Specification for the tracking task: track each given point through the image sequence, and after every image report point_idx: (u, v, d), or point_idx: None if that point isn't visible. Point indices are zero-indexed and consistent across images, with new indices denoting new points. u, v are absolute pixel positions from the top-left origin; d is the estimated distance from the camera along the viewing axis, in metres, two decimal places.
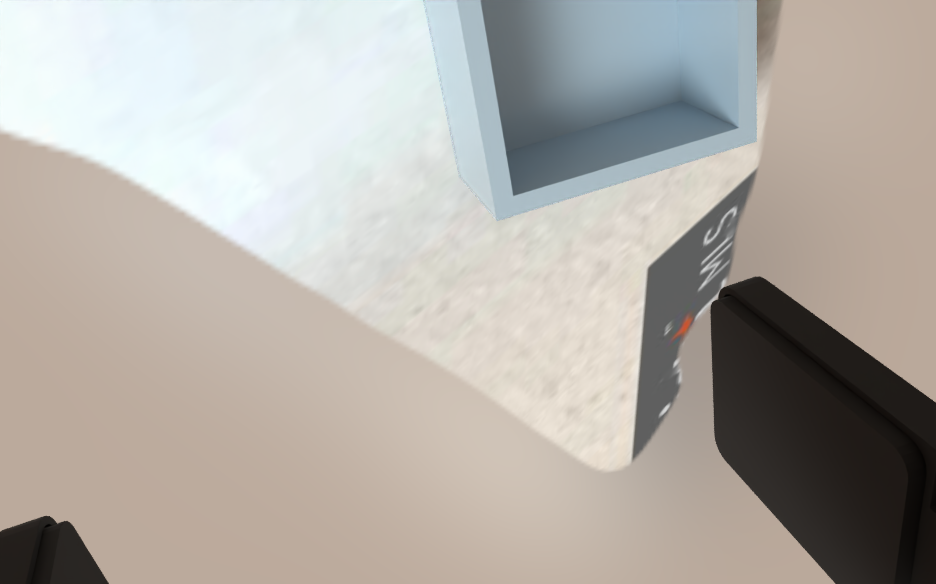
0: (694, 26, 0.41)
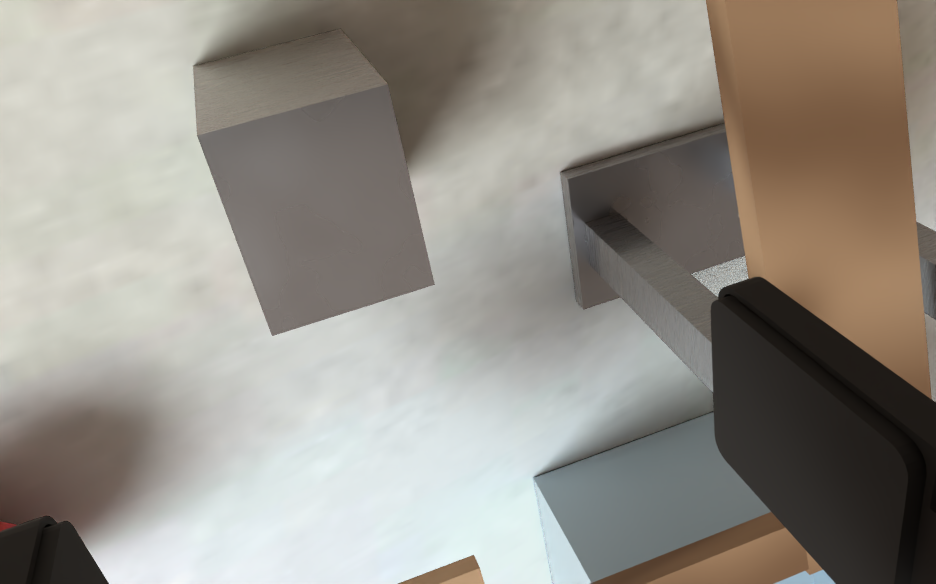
0: None
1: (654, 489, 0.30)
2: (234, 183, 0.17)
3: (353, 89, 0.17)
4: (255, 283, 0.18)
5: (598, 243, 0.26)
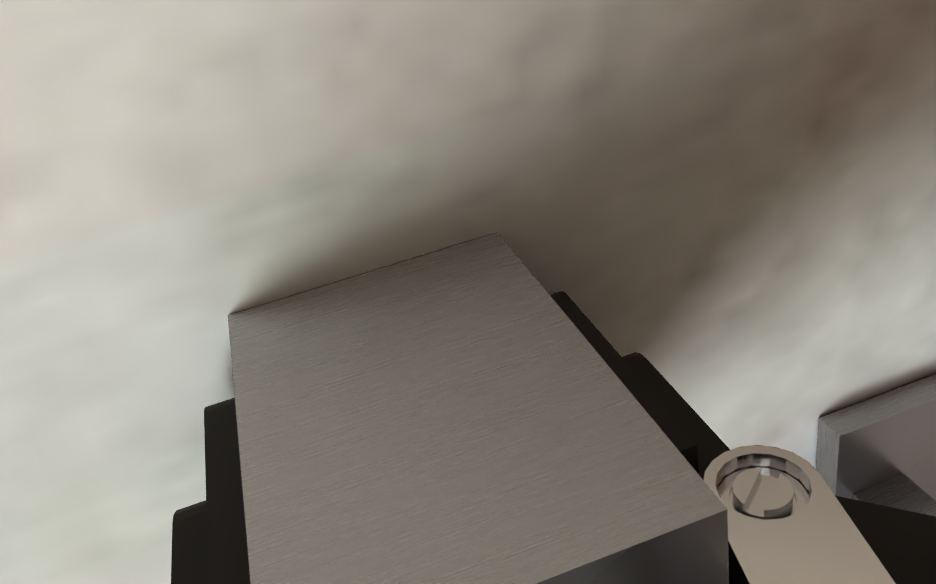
0: None
1: None
2: None
3: (638, 518, 0.07)
4: None
5: None
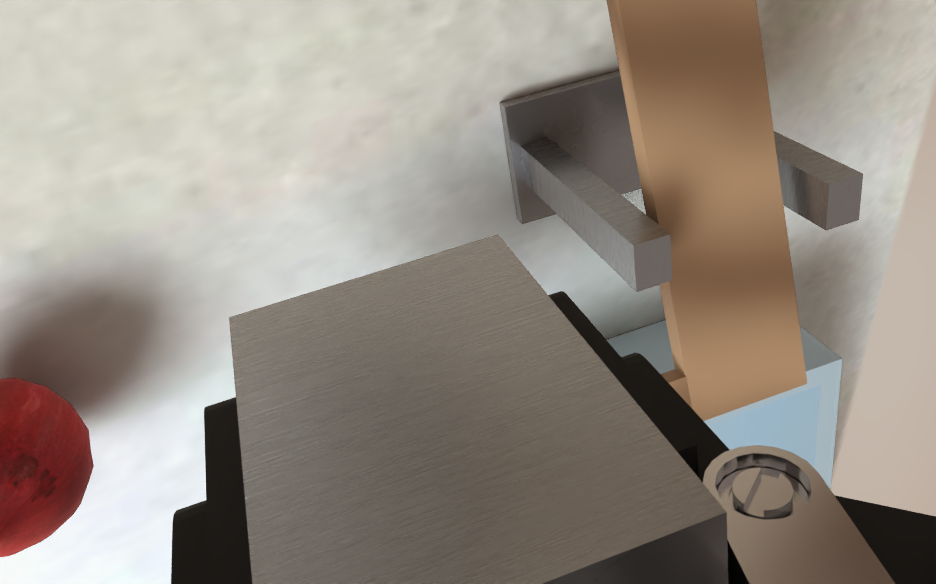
0: None
1: None
2: None
3: (637, 519, 0.07)
4: None
5: (530, 161, 0.31)
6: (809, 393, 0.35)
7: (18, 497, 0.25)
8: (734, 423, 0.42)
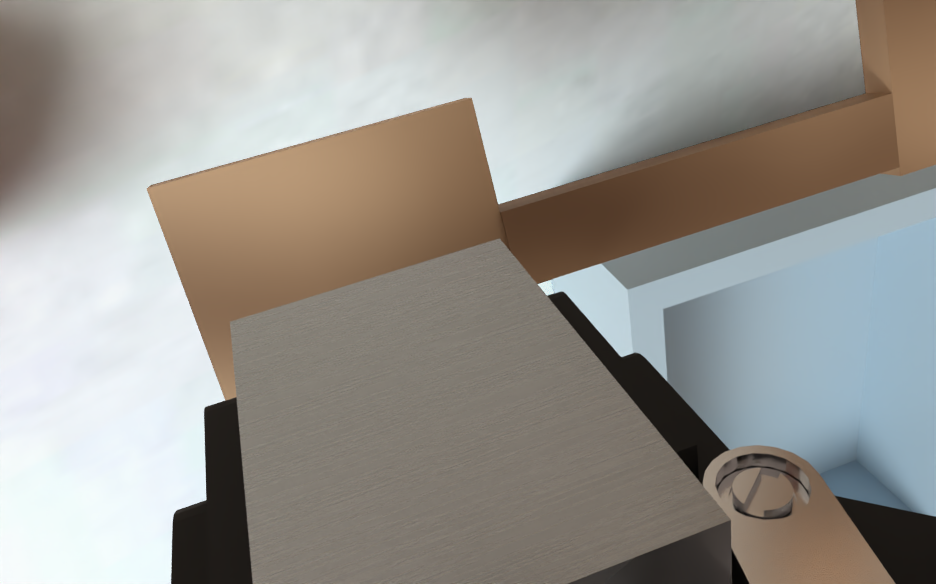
0: (890, 408, 0.34)
1: None
2: None
3: (642, 528, 0.07)
4: None
5: None
6: None
7: None
8: (860, 287, 0.32)
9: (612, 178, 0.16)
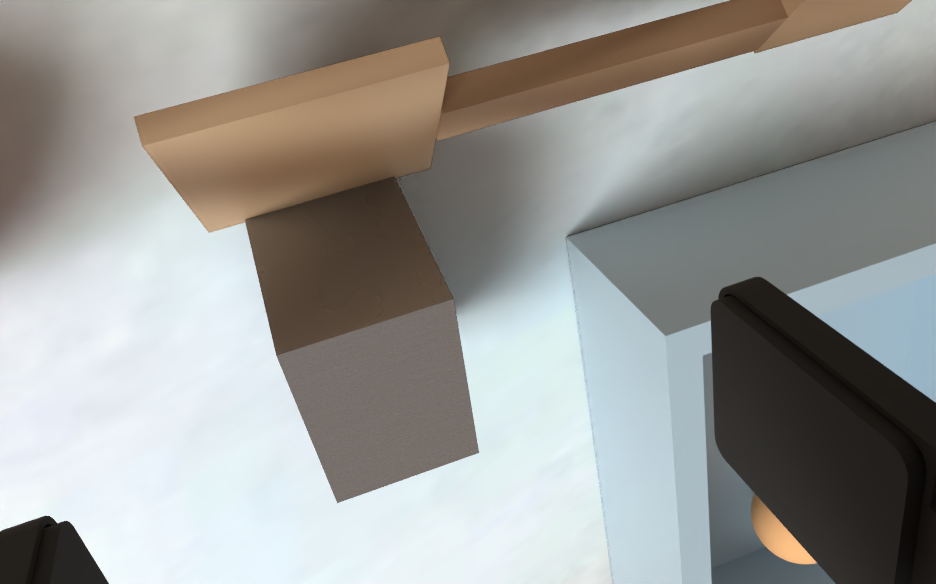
0: None
1: (722, 234, 0.24)
2: None
3: (453, 456, 0.22)
4: None
5: None
6: None
7: None
8: (899, 320, 0.31)
9: (539, 85, 0.18)
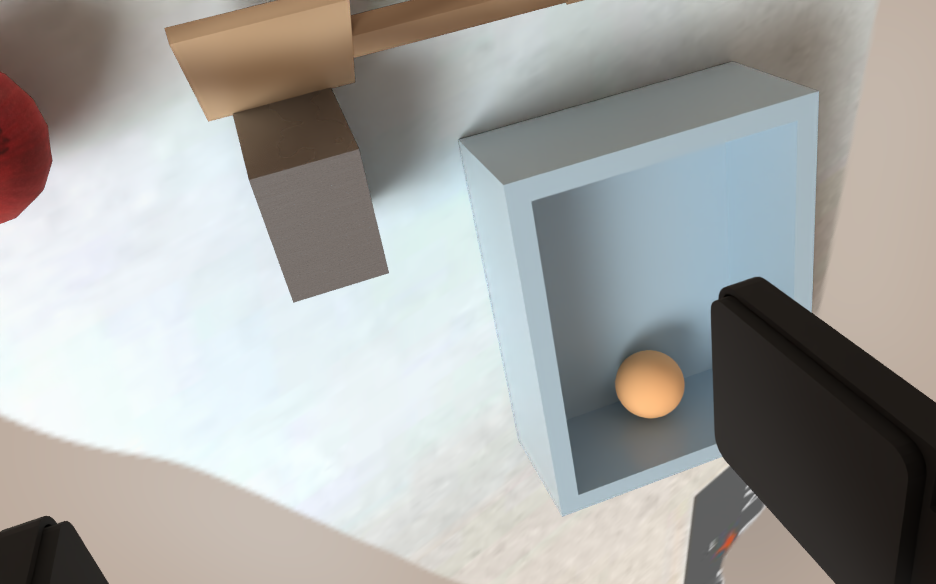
0: None
1: (560, 132, 0.35)
2: None
3: (371, 273, 0.33)
4: None
5: None
6: (787, 138, 0.35)
7: None
8: (717, 213, 0.42)
9: (414, 19, 0.29)
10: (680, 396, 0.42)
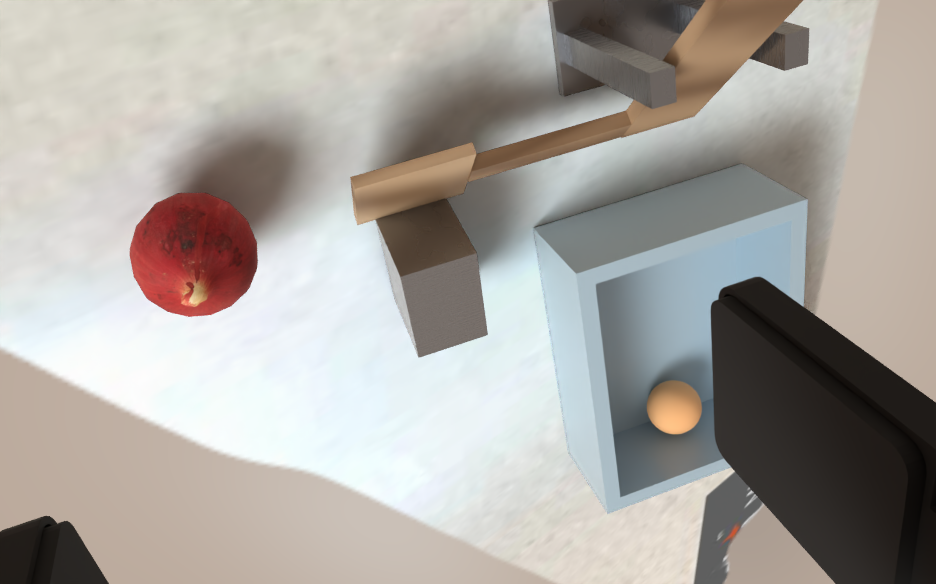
0: None
1: (612, 226, 0.46)
2: None
3: (475, 335, 0.44)
4: (402, 314, 0.46)
5: (571, 43, 0.42)
6: (784, 231, 0.46)
7: (221, 261, 0.36)
8: (728, 277, 0.53)
9: (515, 158, 0.41)
10: (698, 415, 0.53)
